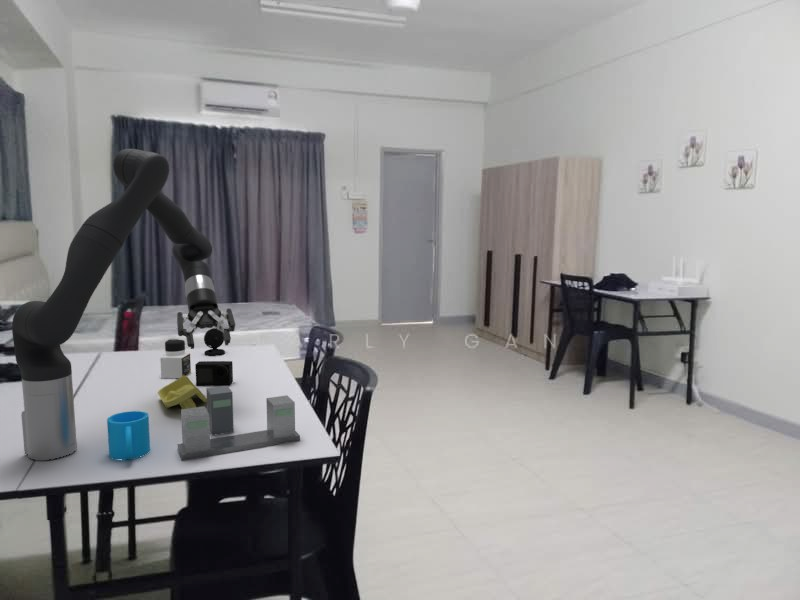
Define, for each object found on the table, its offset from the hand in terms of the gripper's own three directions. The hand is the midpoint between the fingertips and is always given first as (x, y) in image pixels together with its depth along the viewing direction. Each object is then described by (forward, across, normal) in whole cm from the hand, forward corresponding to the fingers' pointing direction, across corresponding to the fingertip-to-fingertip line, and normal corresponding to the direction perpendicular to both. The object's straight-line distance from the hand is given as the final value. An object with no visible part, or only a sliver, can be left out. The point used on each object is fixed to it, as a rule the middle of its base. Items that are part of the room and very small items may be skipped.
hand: (210, 345), depth 149 cm
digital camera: (-7, +5, +35) cm, 36 cm away
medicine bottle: (-19, -4, +46) cm, 50 cm away
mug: (+27, -21, 0) cm, 34 cm away
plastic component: (+5, -6, +22) cm, 24 cm away
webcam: (-38, +13, +66) cm, 77 cm away
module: (+21, 0, +5) cm, 22 cm away
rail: (+30, +2, -3) cm, 30 cm away
